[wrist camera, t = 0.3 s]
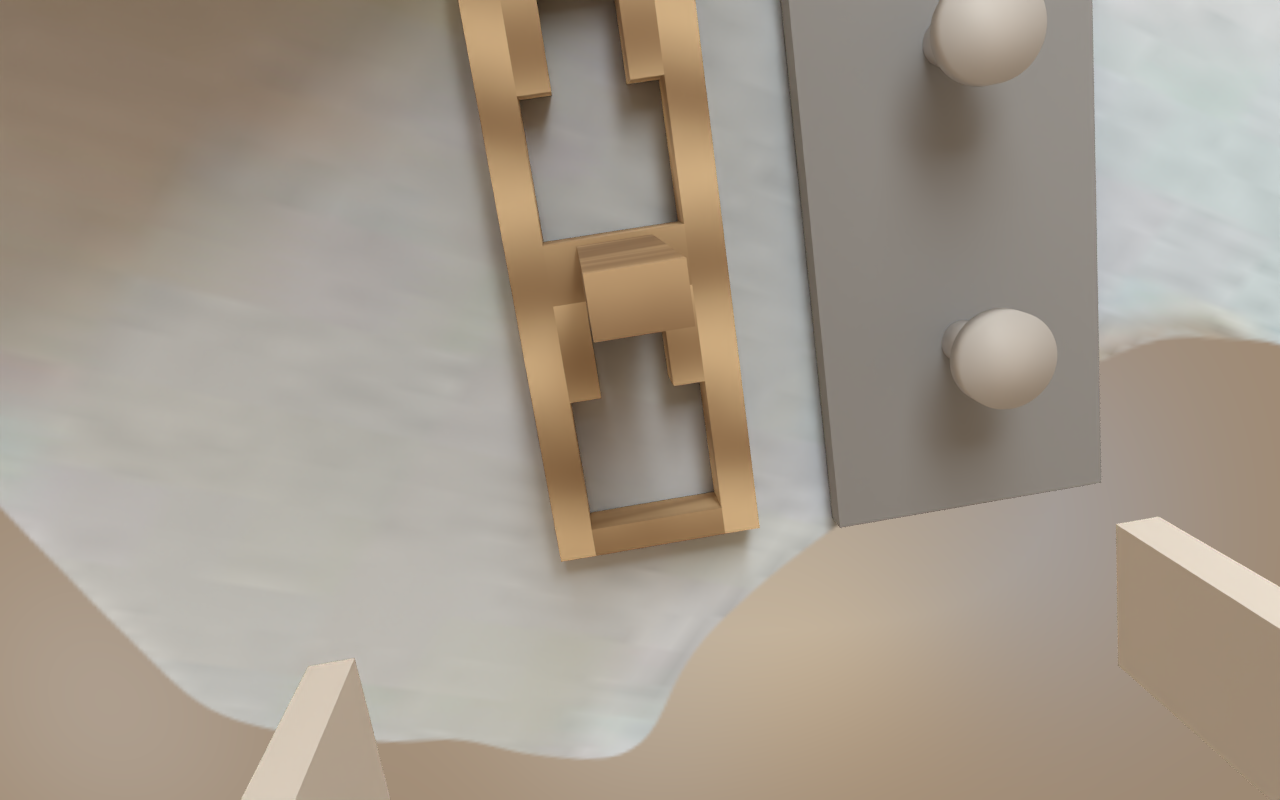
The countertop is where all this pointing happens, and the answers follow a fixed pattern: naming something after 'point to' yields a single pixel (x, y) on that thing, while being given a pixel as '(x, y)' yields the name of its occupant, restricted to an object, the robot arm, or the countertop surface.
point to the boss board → (949, 247)
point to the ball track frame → (617, 274)
